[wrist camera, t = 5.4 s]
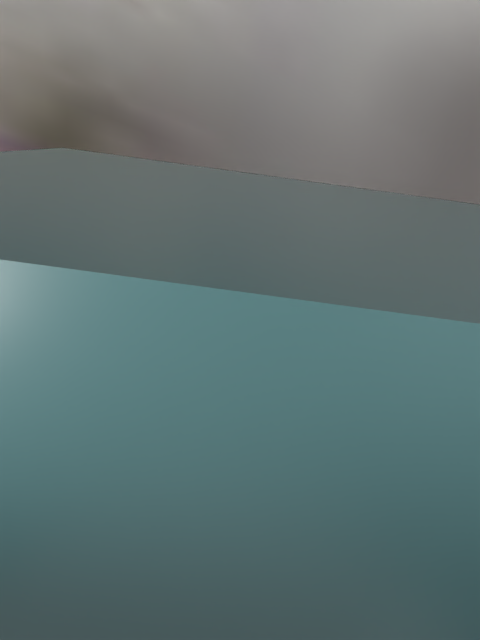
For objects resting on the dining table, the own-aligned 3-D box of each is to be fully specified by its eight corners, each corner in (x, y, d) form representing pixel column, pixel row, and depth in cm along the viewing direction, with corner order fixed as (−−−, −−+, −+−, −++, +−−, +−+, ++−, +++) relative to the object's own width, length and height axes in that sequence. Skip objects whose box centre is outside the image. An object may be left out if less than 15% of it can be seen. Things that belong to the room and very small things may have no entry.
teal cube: (381, 521, 15) (529, 996, 7) (70, 481, 15) (-167, 913, 7) (484, 205, 11) (1142, 413, 3) (63, 147, 11) (-542, 187, 3)
